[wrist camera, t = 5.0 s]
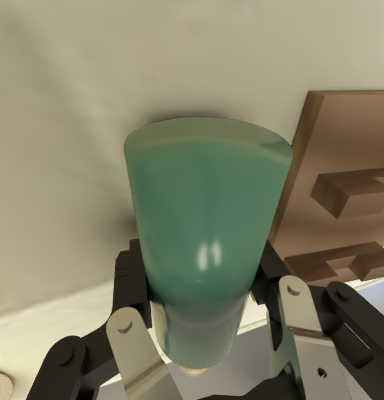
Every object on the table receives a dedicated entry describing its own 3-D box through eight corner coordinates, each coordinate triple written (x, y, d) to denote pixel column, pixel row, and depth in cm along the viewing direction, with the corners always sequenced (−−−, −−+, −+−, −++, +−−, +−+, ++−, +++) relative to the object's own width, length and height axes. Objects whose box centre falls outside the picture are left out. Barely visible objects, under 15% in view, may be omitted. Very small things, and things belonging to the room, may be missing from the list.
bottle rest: (308, 90, 11) (367, 107, 9) (475, 89, 14) (565, 101, 11) (248, 290, 22) (265, 327, 19) (349, 270, 24) (378, 300, 21)
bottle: (127, 119, 9) (116, 193, 5) (250, 115, 10) (334, 174, 5) (158, 327, 19) (163, 406, 15) (216, 316, 20) (235, 388, 16)
